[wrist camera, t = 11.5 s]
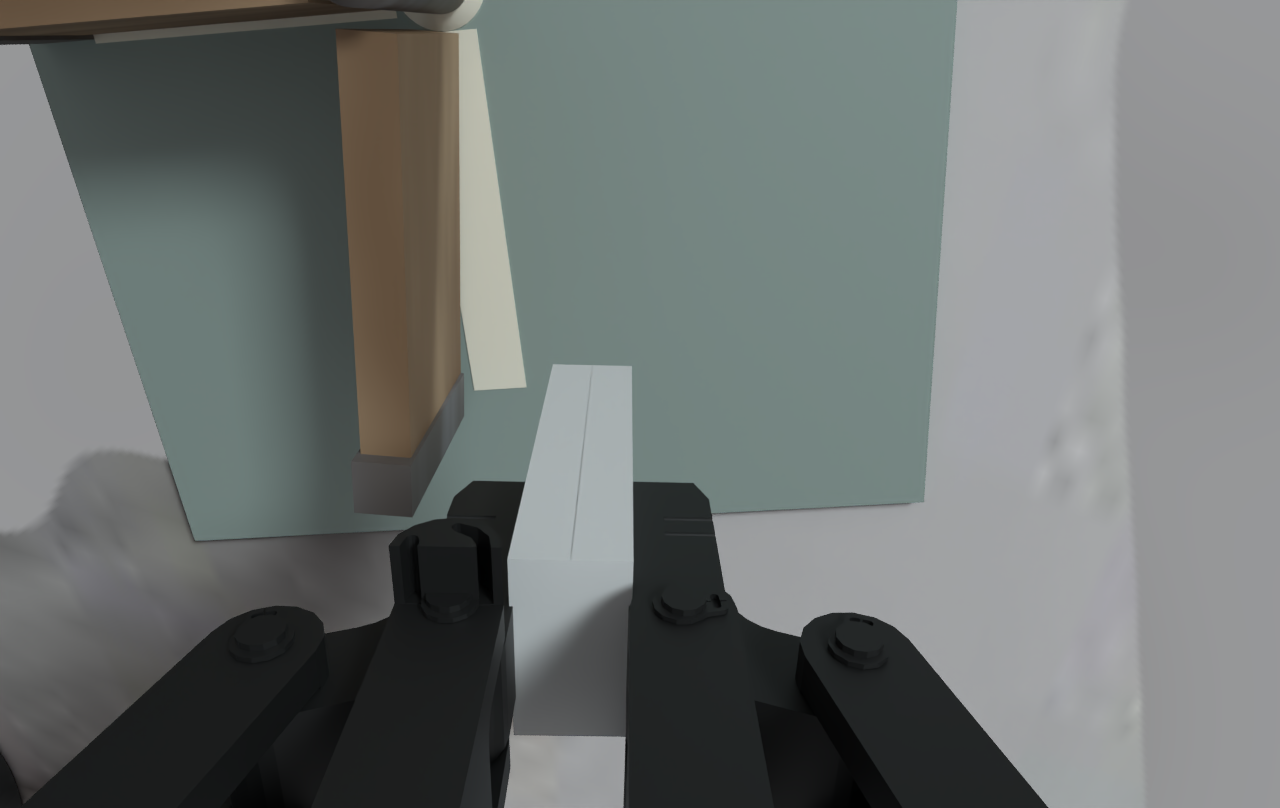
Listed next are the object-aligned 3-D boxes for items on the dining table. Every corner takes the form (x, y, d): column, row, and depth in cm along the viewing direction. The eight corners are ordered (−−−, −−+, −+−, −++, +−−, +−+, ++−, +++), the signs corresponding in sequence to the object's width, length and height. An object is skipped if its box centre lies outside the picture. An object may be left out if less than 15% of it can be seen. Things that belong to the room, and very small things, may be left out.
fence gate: (418, 412, 26) (354, 512, 20) (407, 28, 22) (322, 27, 16) (464, 415, 26) (412, 517, 20) (462, 33, 22) (396, 33, 16)
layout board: (920, 495, 28) (924, 503, 27) (200, 534, 29) (194, 542, 28) (983, -493, 18) (991, -507, 18) (-98, -373, 19) (-116, -382, 19)
